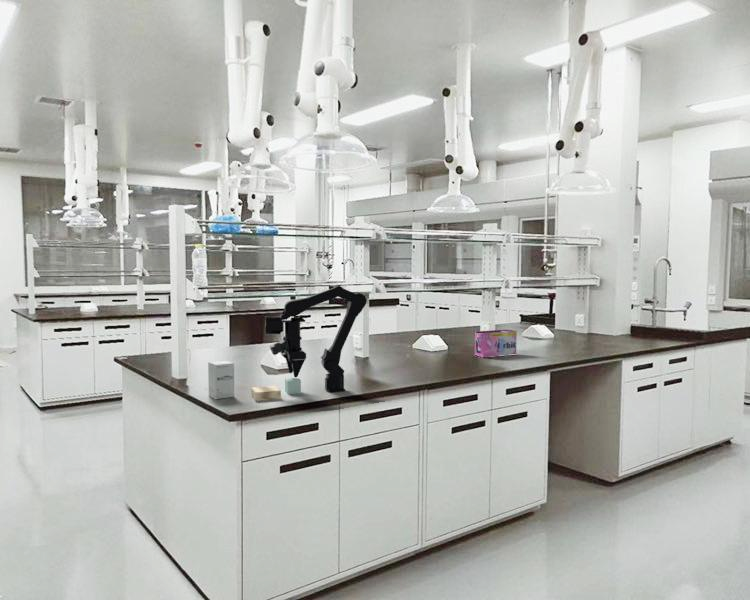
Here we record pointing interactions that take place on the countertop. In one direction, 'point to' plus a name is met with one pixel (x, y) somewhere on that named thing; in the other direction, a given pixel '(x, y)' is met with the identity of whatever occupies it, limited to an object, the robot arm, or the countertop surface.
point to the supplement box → (221, 379)
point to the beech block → (265, 393)
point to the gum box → (495, 343)
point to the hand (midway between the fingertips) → (293, 374)
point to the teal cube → (292, 385)
